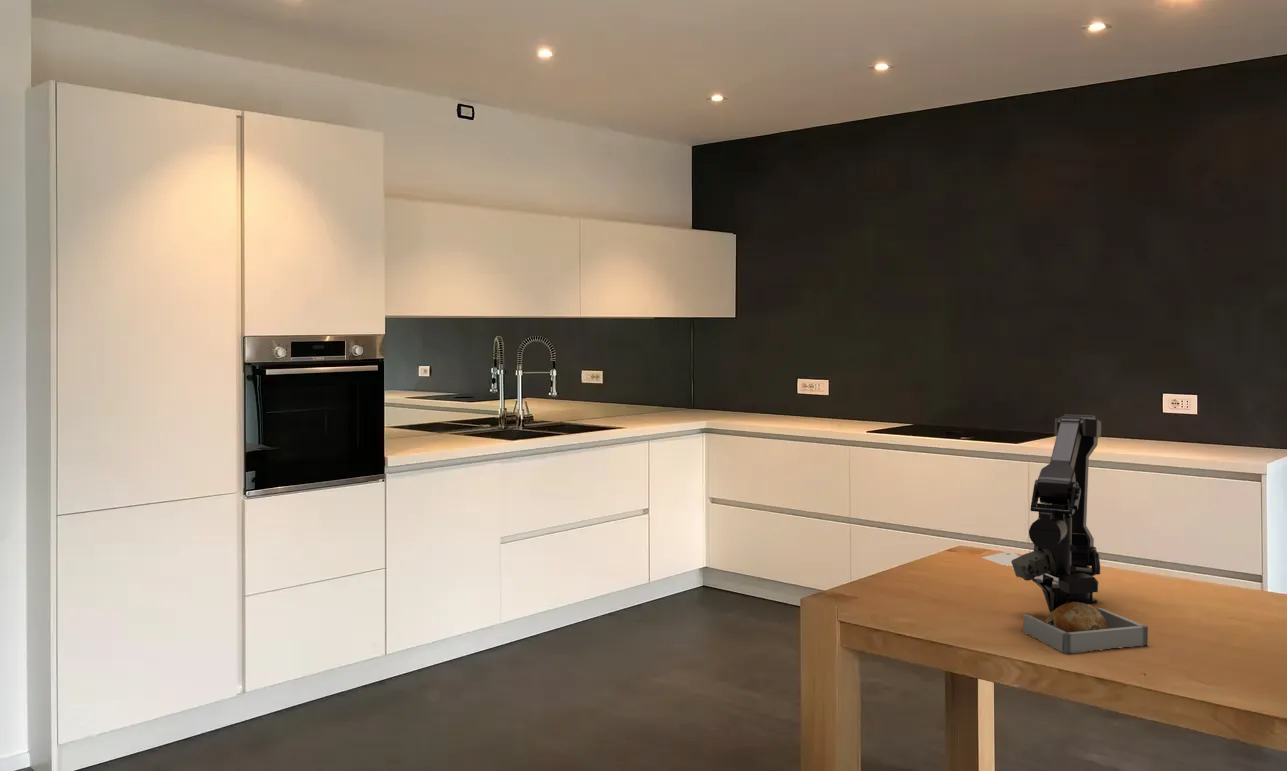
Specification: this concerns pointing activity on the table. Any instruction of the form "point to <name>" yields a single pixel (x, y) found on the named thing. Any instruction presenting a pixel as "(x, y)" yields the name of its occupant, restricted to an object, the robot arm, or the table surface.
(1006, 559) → the kitchen cleaver
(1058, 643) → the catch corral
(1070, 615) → the bread roll
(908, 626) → the table surface
